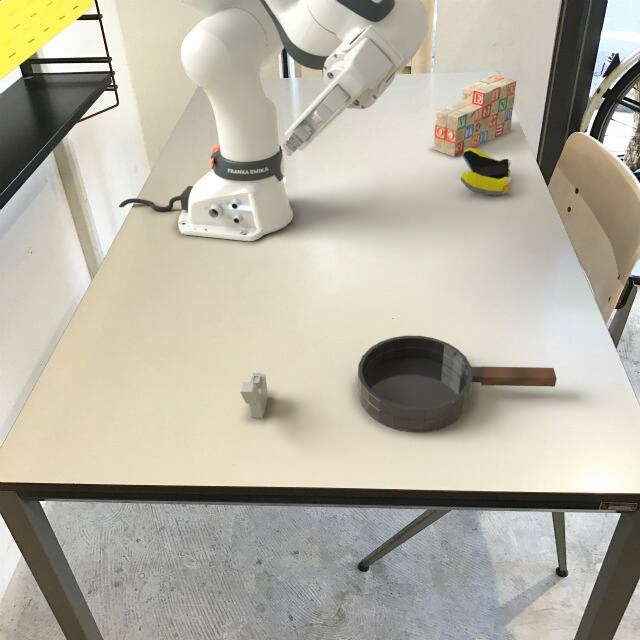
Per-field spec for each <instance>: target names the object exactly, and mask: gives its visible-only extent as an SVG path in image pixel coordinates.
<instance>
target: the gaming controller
mask: <svg viewBox="0 0 640 640" xmlns="http://www.w3.org/2000/svg"><path fill="white" fill-rule="evenodd" d="M462 159H463V160H464V162H465V163H466V165H467V167H468V168H469V170H470V171H466V172H463V173H461V175H460V181H461V183H462V184H463V185H464V186H465V187H466V188H467V189H469V190H470V191H471V192H472V193H477V194H485V195H488V196H489V197H493V198H495V197H499V196H500V195H505V194H506V193H507V192H510V190H511V180H512V177H511V176H510V173H511V170H510V166H511V164H512V160H511V159H508V158H502V159H495V158H493V157H491V155H488V154H486V153H485V152H484V151H483V152H482V151H481V150H479V149H478V148H475V147H474V148H468V149H467V150H465V151H464V152H462Z"/></svg>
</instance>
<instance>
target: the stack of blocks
mask: <svg viewBox="0 0 640 640" xmlns="http://www.w3.org/2000/svg"><path fill="white" fill-rule="evenodd" d="M516 87H517V80H515V79H512V78H508V77H503V76H499V75H492V76H489V77H485V78H482V79H480V80H478V81H476V82H473V83H471V84H468V85H466V86H464V87H462V93H461V100H460V101H458V102H455V103H453V104H451V105H448V106H446V107H444V108H441V109H439V110H436V114H435V124H434V137H433V138H434V139H433V140H434V141H433V150H434V151H438V152H440V153H443V154H445V155H449V156H452V157H456V156H459V155H460V154H463V153H464V151H465V150H467V149H468V148H474V149H475V148H476V147H479V146H480V145H482V144H484V143H487V142H488V141H491V140H493V139H495V138H497V137H500V136H502V135H504V134H507V133H510V131H511V127H512V120H513V119H512V117H513V111H514V110H513V109H514V105H515V97H516Z"/></svg>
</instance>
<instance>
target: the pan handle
mask: <svg viewBox="0 0 640 640" xmlns="http://www.w3.org/2000/svg"><path fill="white" fill-rule="evenodd" d="M471 370H472V375H473V381H472V384H480V385H481V386H492V387H493V386H496V387H497V386H499V387H500V386H501V387H502V386H504V387H508V386H509V387H510V386H511V387H549V388H550V387H551V388H553V387H556V384H557V379H558V378H557V373H556V370H555V368H554V367H542V366H541V367H537V366H535V367H534V366H532V367H531V366H526V367H525V366H471Z"/></svg>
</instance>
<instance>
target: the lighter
mask: <svg viewBox="0 0 640 640" xmlns="http://www.w3.org/2000/svg"><path fill="white" fill-rule="evenodd" d="M239 392H240V394H241V397H242V398H243V400H244V403H246V404H248V407H249V414H250V418H257V419H263V418H264V416H265V412H266V409H267V404H268V400H269V392H268V384H267V375H266V373H264V372H253V373H252V375H251V379H250V381H241V384H240V391H239Z"/></svg>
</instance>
